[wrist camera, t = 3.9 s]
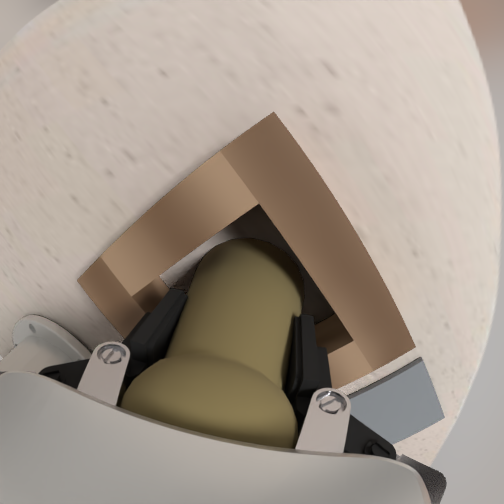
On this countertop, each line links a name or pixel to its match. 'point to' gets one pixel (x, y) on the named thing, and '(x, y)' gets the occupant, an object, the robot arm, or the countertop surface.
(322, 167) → the countertop surface
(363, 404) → the rubber mat
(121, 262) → the wooden square frame
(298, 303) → the olive rounded peg
